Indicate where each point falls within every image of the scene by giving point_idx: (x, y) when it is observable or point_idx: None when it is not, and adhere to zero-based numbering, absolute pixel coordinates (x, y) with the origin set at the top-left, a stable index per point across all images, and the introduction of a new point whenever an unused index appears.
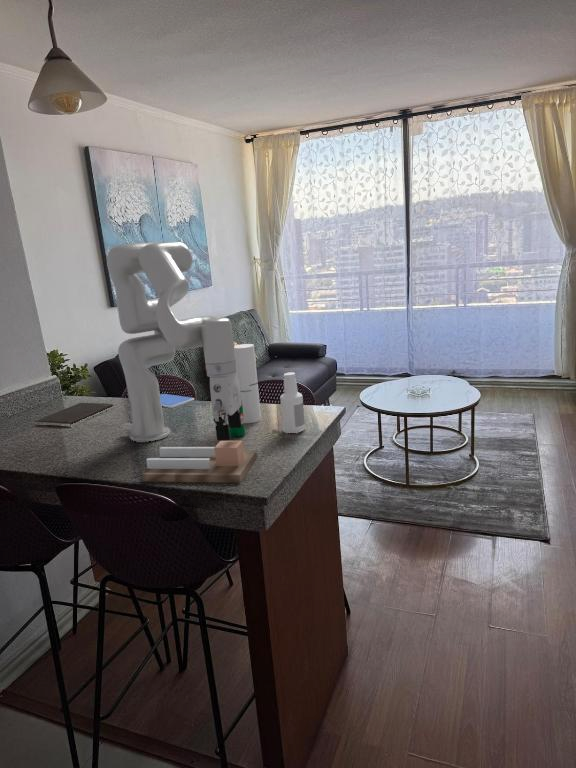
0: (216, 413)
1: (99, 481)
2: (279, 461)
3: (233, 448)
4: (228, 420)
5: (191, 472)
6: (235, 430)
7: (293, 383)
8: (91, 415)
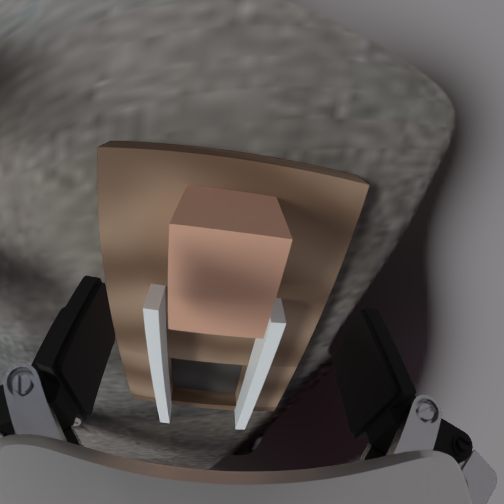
0: (494, 476)
1: (255, 433)
2: (162, 36)
3: (286, 255)
4: (98, 377)
5: (296, 337)
6: None
7: None
8: None
